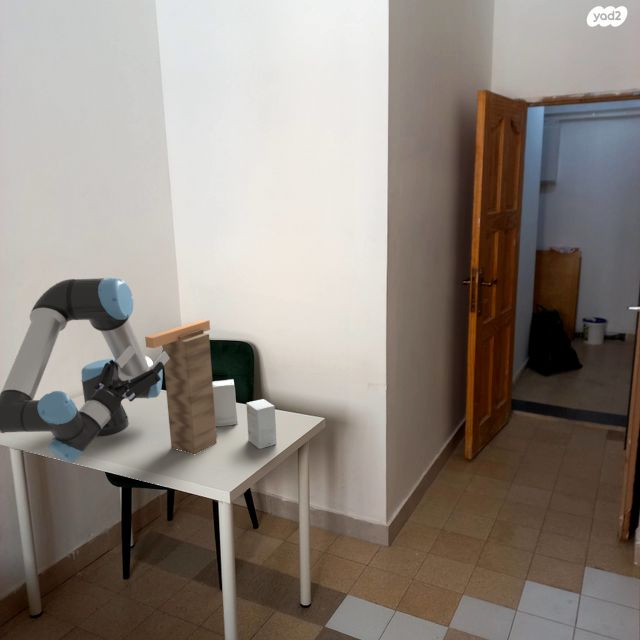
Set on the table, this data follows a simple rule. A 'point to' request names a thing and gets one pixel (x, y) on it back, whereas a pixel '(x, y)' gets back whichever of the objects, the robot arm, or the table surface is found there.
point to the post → (190, 392)
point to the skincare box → (224, 403)
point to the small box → (261, 423)
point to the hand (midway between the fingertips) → (149, 351)
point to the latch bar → (175, 333)
